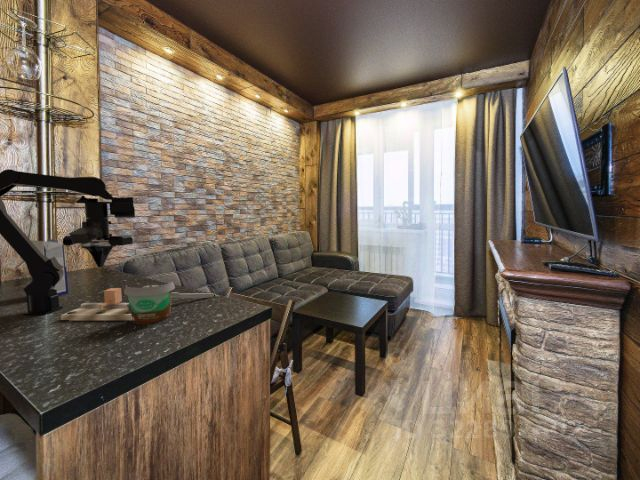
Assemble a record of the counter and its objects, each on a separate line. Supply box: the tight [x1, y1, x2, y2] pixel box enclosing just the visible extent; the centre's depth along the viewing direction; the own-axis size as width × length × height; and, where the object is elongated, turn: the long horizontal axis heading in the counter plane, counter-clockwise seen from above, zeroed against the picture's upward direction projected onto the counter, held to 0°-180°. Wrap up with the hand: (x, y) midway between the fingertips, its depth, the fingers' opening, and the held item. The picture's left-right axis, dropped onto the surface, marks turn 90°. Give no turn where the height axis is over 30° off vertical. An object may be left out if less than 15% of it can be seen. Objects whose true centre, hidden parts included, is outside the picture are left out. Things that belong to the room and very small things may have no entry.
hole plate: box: [60, 302, 132, 321], centre depth 87 cm, size 19×11×6 cm, turn 91°
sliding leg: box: [99, 287, 123, 311], centre depth 87 cm, size 3×7×5 cm, turn 1°
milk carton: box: [31, 238, 69, 297], centre depth 106 cm, size 7×7×20 cm
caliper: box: [171, 291, 219, 302], centre depth 99 cm, size 20×1×6 cm, turn 137°
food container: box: [123, 280, 176, 325], centre depth 81 cm, size 12×6×10 cm, turn 117°
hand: (100, 267), depth 96 cm, fingers closed
